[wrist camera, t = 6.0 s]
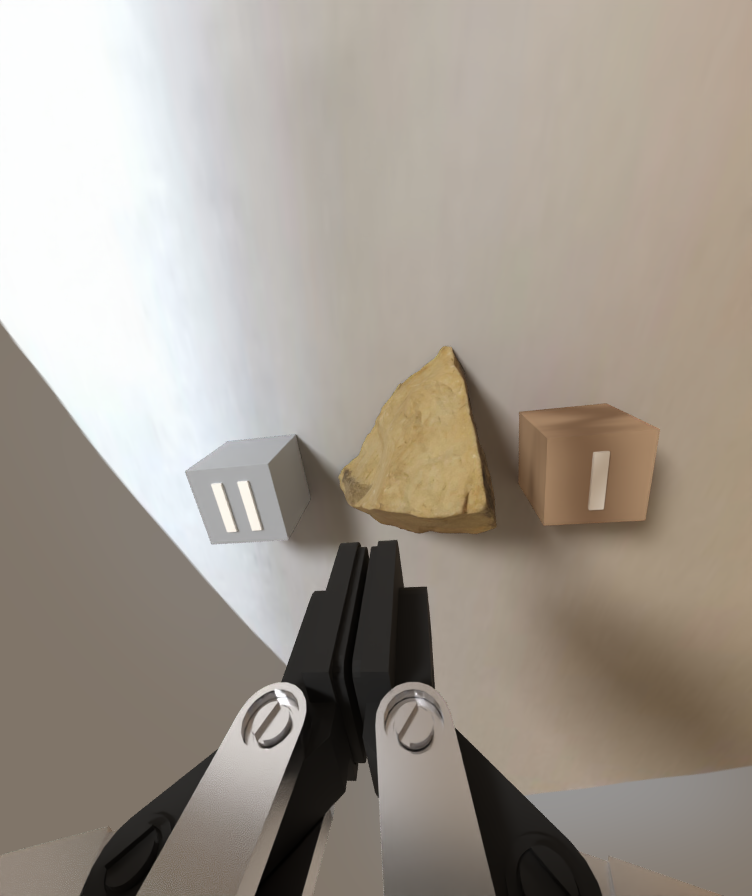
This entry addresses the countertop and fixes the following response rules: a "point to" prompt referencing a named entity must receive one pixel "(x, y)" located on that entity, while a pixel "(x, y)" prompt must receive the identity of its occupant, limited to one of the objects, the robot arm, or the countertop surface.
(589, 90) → the countertop surface
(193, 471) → the grey block
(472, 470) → the rock
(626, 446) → the walnut block
